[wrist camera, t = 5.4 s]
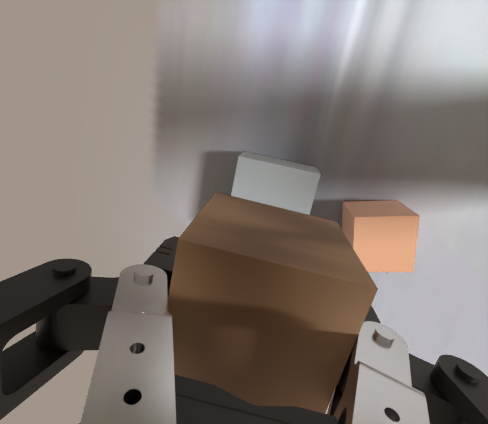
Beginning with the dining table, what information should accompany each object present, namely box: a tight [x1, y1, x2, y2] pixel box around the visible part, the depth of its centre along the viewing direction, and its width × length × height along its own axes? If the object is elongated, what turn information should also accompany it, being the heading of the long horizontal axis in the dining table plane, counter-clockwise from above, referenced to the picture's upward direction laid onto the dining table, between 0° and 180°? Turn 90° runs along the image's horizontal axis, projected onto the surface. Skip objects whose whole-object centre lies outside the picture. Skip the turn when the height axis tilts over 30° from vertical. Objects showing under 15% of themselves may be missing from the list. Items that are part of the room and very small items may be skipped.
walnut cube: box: [168, 192, 378, 414], centre depth 10 cm, size 5×5×5 cm
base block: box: [231, 151, 321, 215], centre depth 28 cm, size 7×7×4 cm
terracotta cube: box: [342, 200, 420, 272], centre depth 27 cm, size 5×5×5 cm
